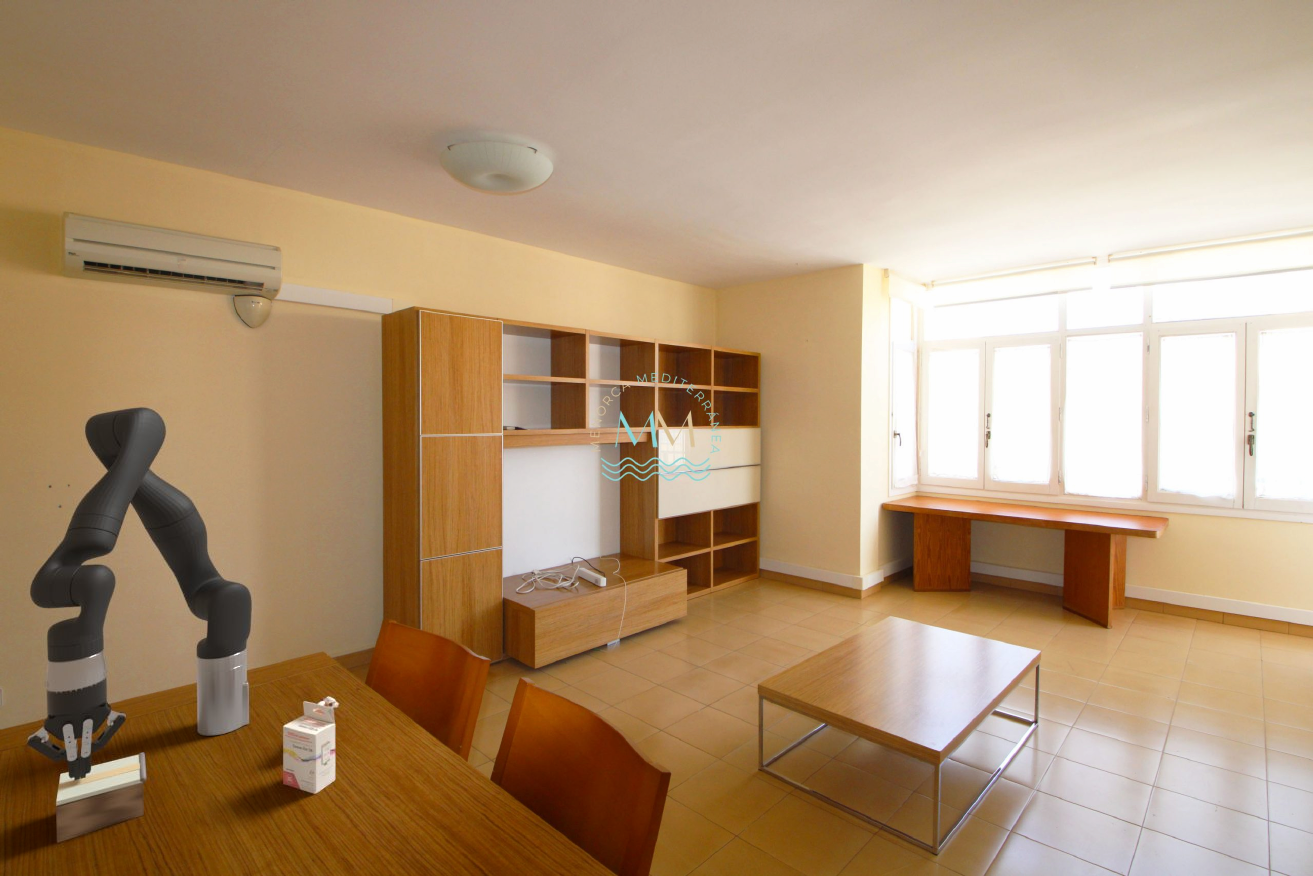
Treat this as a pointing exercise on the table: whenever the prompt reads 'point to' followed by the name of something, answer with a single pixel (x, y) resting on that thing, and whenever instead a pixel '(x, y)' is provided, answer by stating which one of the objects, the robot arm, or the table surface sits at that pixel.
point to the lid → (102, 779)
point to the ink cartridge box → (310, 749)
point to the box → (98, 811)
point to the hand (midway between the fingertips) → (80, 777)
